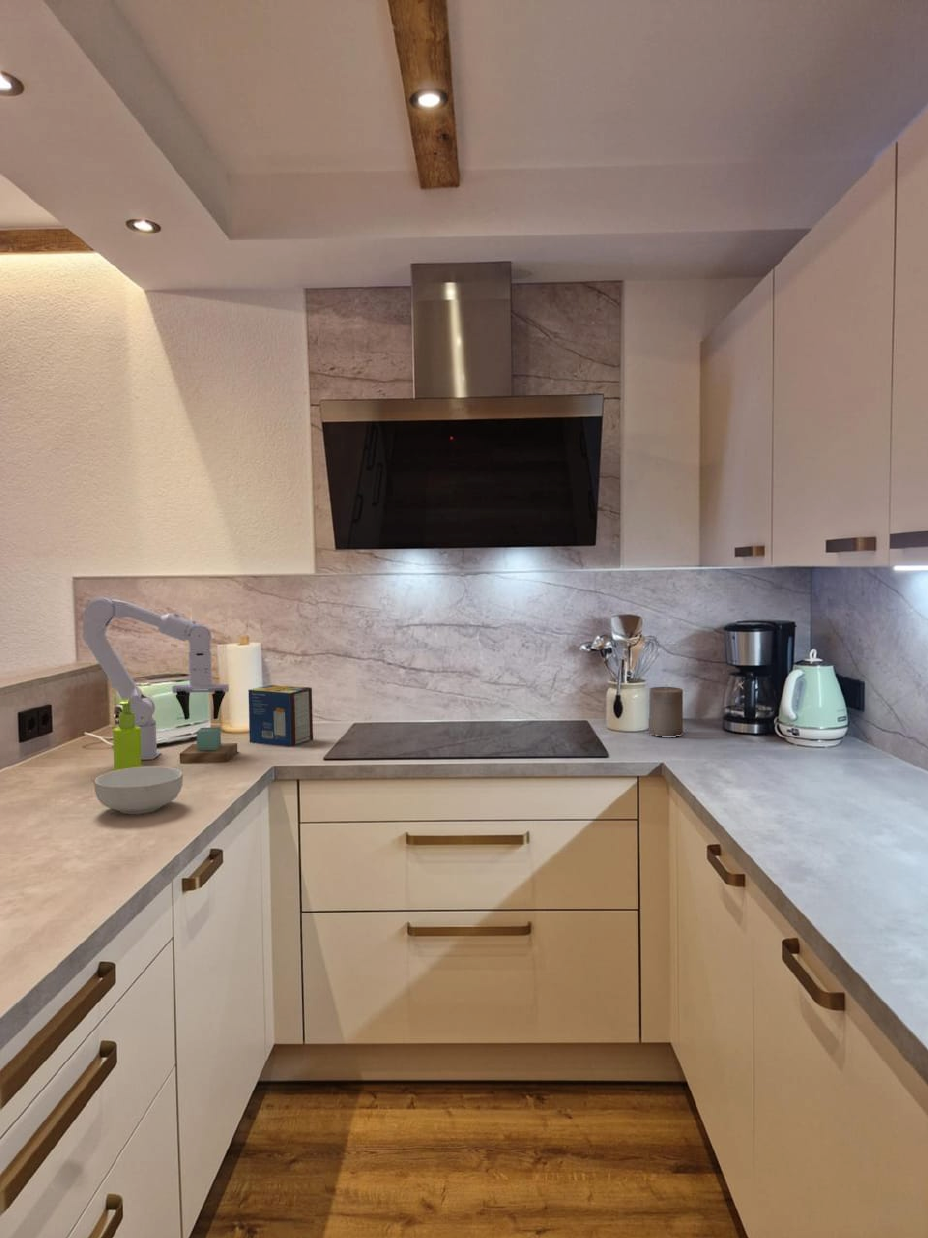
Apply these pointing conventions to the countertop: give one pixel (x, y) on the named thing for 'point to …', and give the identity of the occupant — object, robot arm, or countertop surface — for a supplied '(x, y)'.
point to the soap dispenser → (127, 739)
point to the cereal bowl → (138, 788)
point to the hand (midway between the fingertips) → (201, 718)
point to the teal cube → (209, 738)
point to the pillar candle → (666, 711)
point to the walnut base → (208, 754)
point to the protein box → (280, 715)
